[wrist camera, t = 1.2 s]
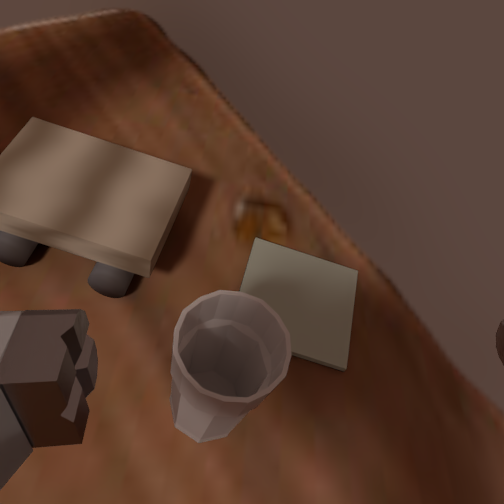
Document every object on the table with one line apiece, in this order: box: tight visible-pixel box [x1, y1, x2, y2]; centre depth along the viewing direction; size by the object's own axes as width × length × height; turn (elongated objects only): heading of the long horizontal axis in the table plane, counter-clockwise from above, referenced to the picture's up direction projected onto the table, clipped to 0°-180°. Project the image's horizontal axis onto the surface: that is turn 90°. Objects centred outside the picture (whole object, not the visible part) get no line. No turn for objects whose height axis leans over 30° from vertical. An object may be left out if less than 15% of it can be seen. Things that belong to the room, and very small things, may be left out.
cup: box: [170, 290, 291, 443], centre depth 31 cm, size 7×7×11 cm
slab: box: [0, 117, 192, 298], centre depth 40 cm, size 14×12×5 cm
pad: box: [239, 237, 358, 372], centre depth 42 cm, size 10×10×1 cm
